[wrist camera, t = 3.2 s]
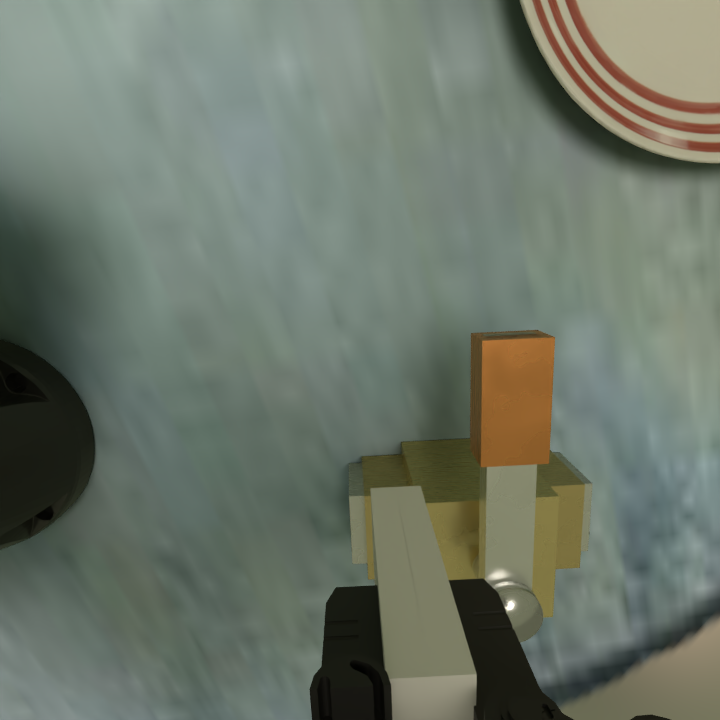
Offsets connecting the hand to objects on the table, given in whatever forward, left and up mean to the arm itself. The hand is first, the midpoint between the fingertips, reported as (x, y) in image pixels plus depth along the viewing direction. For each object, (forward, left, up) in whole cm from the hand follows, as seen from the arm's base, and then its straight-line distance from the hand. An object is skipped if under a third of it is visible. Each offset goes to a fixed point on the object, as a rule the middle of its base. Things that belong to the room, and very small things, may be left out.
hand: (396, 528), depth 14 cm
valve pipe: (+6, -10, -21) cm, 24 cm away
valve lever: (+6, -4, -11) cm, 13 cm away
